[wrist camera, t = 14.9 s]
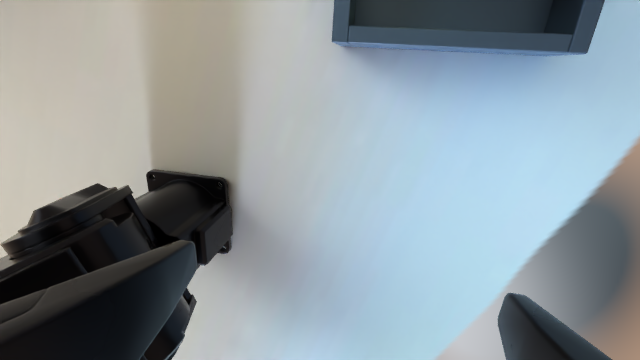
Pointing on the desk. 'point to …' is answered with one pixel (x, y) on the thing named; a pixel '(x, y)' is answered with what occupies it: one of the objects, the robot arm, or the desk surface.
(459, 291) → the desk surface
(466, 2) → the tote
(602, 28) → the desk surface
